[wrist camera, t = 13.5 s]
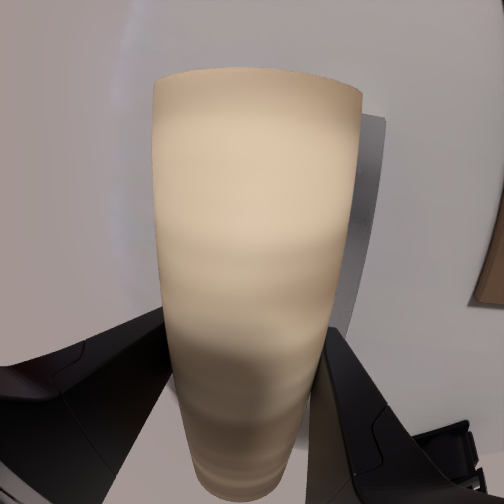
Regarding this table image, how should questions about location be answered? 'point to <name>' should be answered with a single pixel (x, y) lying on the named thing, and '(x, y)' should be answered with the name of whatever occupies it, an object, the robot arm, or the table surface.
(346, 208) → the wooden axle
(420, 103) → the table surface
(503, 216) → the brown board with blocks
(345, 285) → the v block
